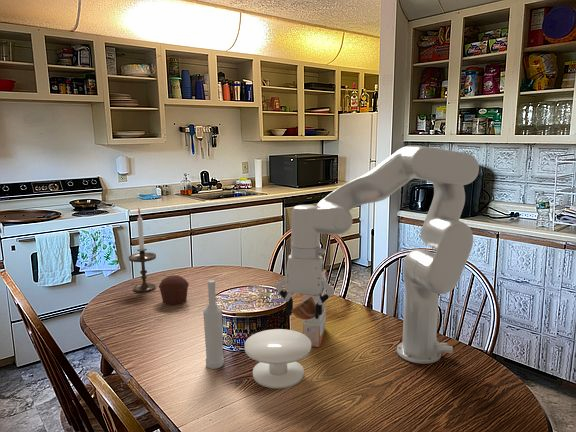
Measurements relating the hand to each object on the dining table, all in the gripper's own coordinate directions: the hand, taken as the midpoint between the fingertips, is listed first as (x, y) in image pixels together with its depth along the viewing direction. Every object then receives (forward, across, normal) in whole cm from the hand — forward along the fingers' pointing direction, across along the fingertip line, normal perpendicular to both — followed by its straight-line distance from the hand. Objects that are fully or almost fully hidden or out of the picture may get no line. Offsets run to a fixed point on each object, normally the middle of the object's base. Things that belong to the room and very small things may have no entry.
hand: (303, 315), depth 121 cm
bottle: (+17, +25, +2) cm, 31 cm away
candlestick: (+18, +78, -50) cm, 94 cm away
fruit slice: (+1, 0, 0) cm, 1 cm away
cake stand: (+17, +6, +3) cm, 18 cm away
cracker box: (+16, 0, -21) cm, 27 cm away
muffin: (+17, +59, -40) cm, 73 cm away
